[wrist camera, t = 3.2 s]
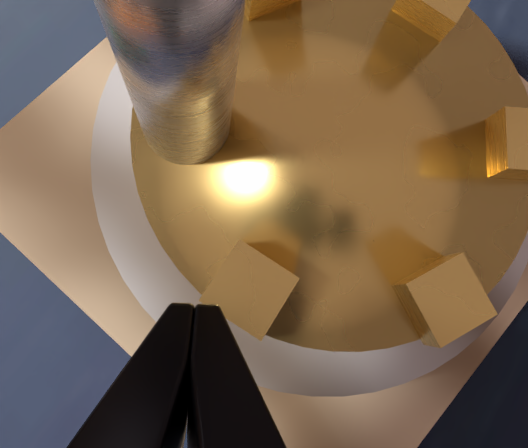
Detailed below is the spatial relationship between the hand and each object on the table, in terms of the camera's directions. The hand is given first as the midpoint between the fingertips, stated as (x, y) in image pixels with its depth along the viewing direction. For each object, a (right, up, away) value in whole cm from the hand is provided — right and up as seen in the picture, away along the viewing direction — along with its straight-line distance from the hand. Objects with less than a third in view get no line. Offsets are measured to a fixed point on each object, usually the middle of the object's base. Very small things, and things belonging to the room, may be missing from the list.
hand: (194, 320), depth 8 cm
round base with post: (+3, +4, +7) cm, 9 cm away
